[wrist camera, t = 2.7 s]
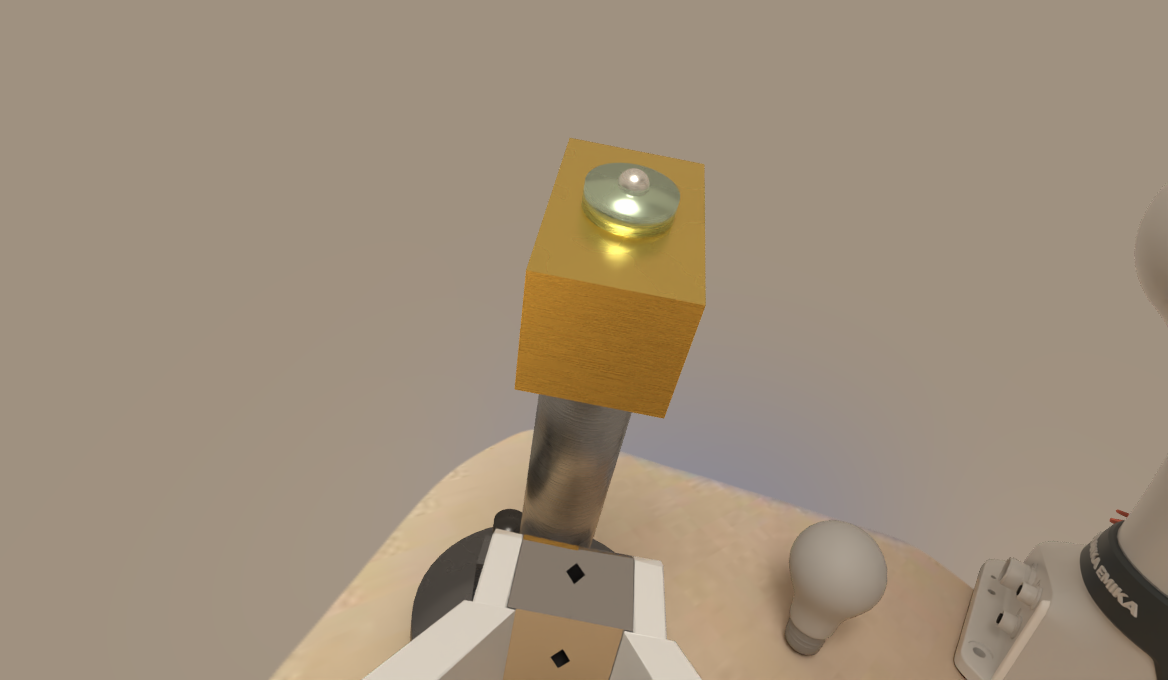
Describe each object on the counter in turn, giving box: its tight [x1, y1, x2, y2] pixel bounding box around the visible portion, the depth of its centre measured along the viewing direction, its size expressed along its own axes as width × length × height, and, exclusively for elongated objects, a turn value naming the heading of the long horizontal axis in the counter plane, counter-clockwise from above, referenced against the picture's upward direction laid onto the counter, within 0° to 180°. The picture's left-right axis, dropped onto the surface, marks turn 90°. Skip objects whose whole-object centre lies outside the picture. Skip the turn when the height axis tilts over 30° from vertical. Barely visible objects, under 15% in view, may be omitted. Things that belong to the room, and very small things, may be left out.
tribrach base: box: [410, 509, 615, 642], centre depth 41 cm, size 16×16×7 cm
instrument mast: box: [515, 138, 706, 548], centre depth 30 cm, size 8×6×31 cm
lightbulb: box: [785, 520, 887, 655], centre depth 43 cm, size 6×6×11 cm
